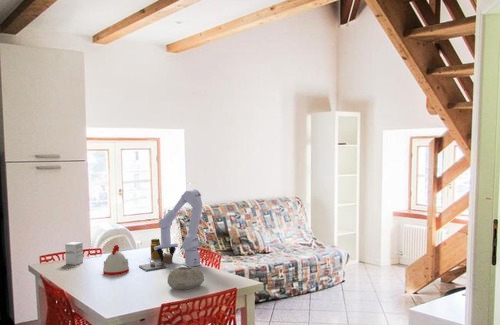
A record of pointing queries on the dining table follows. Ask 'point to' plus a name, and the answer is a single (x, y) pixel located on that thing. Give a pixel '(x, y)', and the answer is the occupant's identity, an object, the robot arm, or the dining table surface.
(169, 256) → the taped cardboard box
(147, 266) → the hub plate
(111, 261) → the kitchen timer
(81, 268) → the dining table surface
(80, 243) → the supplement box
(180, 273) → the grey stone
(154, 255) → the condiment
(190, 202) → the robot arm
